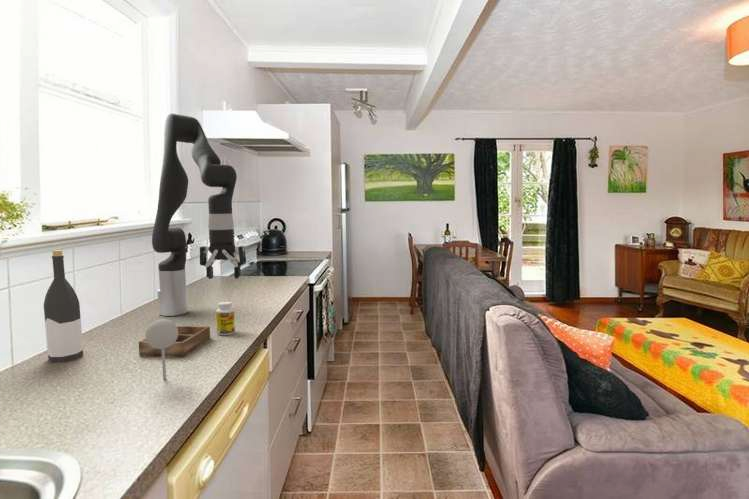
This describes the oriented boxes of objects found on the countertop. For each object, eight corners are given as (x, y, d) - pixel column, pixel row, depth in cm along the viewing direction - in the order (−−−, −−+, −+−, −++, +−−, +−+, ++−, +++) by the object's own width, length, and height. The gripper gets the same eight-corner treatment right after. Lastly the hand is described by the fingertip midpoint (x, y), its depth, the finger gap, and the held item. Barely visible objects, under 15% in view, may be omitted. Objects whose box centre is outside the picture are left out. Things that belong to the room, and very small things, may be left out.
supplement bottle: (219, 337, 137) (218, 305, 136) (215, 332, 142) (213, 302, 141) (237, 334, 140) (235, 303, 139) (232, 329, 145) (231, 300, 144)
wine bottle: (90, 354, 122) (82, 249, 119) (61, 364, 114) (52, 252, 111) (70, 351, 125) (61, 248, 121) (40, 360, 117) (30, 251, 114)
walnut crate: (139, 355, 121) (138, 341, 120) (171, 337, 137) (170, 325, 136) (183, 357, 120) (182, 343, 119) (210, 338, 135) (209, 326, 135)
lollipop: (155, 374, 108) (152, 315, 106) (185, 373, 108) (181, 315, 107) (143, 386, 101) (139, 323, 99) (174, 385, 101) (170, 323, 100)
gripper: (247, 227, 140) (249, 276, 141) (204, 227, 141) (207, 276, 142) (239, 228, 132) (241, 280, 134) (194, 228, 133) (196, 280, 135)
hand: (223, 278), depth 138 cm, fingers open, 8 cm apart
